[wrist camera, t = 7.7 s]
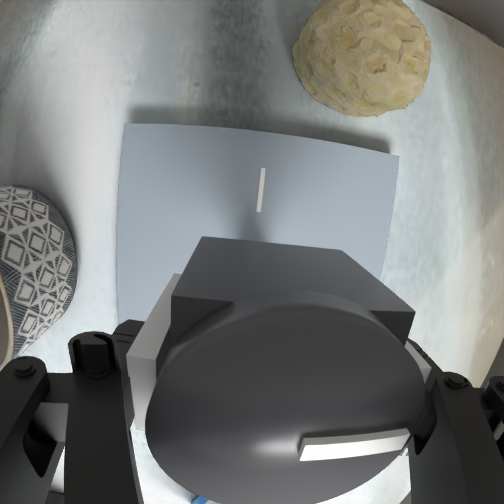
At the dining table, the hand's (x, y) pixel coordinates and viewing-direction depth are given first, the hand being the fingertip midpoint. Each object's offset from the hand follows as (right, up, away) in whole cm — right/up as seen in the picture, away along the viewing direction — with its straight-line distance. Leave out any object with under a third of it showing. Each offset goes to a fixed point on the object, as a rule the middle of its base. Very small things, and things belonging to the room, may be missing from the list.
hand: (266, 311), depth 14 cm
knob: (0, 0, 0) cm, 0 cm away
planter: (-21, +2, +9) cm, 23 cm away
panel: (-1, +2, +10) cm, 10 cm away
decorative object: (+7, +17, +7) cm, 20 cm away
